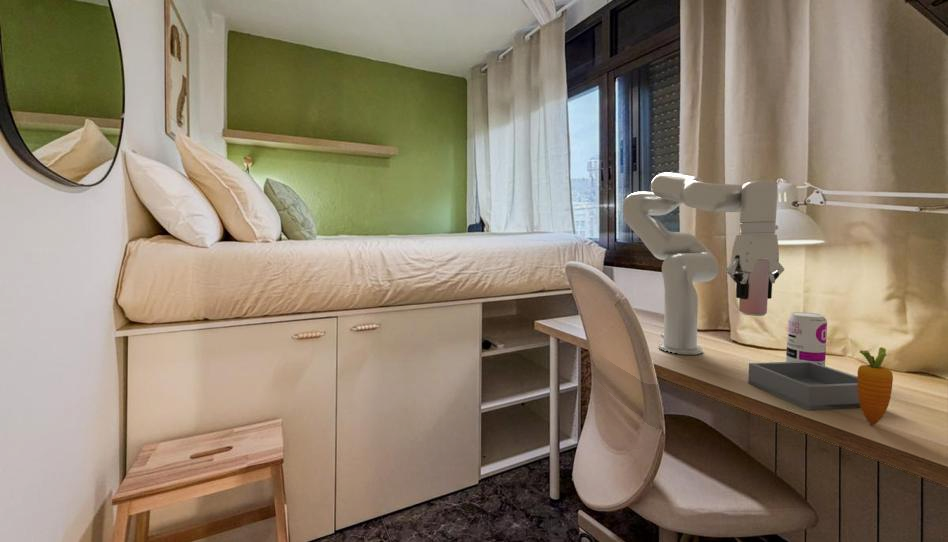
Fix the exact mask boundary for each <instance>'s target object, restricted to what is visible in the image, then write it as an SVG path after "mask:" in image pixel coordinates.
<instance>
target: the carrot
mask: <svg viewBox="0 0 948 542" xmlns="http://www.w3.org/2000/svg"><path fill="white" fill-rule="evenodd" d="M859 353H860V354H861V355H863V357H865V359H866V360H867V363H868V364H861V365H860V366H858V368H857V377H858V378H857V388H858V398H859V403H860V407H861V408H860V409H861V411H862V412H861V413H862V414H863V416H864V418H865V420H866V422H867V423H868V424H870V426H874V425H876V424H877V423H878V422H879V421H881V419H882V418H883V417H884V415H885V414H886V412H887V410H888V407H889V404H890V400H891V397H892V389H893V382H894V376H893V375H894V374H893V372H892V370H891V369H889V368H886V367H882V364H883V361H884V359H885V357H886V356H887V354H886V353H887V349H886V348H885V347H882V346H881V347H879V349H878V354H877V356H876V358H875V356H873V355H871V353H870V351H869V350H866V349H865V350H862V349H861V350H859Z"/></svg>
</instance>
